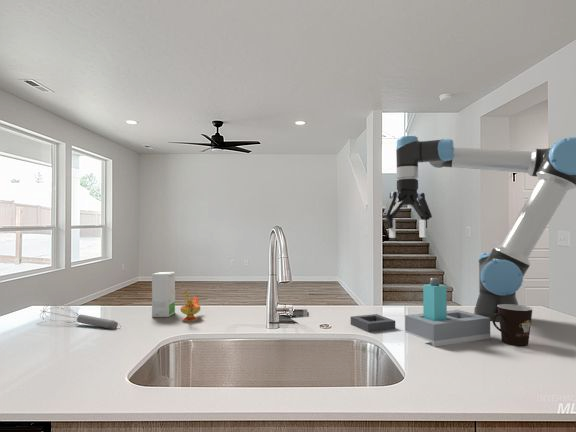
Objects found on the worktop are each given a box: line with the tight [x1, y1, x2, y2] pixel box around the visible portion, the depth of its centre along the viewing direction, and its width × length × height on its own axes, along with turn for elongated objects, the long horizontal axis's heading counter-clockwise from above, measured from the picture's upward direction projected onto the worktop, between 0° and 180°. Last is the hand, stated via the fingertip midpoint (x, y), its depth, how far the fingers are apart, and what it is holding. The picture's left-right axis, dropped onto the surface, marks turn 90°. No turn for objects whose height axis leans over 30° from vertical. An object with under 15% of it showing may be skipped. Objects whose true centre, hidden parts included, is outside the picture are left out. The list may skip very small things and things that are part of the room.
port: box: [404, 309, 491, 348], centre depth 116 cm, size 21×12×6 cm, turn 112°
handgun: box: [279, 308, 308, 324], centre depth 142 cm, size 13×2×18 cm
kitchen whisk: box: [39, 303, 122, 330], centre depth 130 cm, size 6×34×6 cm, turn 70°
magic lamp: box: [180, 290, 201, 322], centre depth 140 cm, size 7×18×11 cm, turn 179°
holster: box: [350, 313, 396, 333], centre depth 124 cm, size 10×10×4 cm
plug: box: [422, 277, 448, 321], centre depth 115 cm, size 4×4×16 cm
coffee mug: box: [491, 304, 533, 347], centre depth 111 cm, size 12×9×10 cm
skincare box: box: [151, 271, 176, 318], centre depth 145 cm, size 8×7×16 cm
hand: (407, 237), depth 142 cm, fingers open, 13 cm apart
